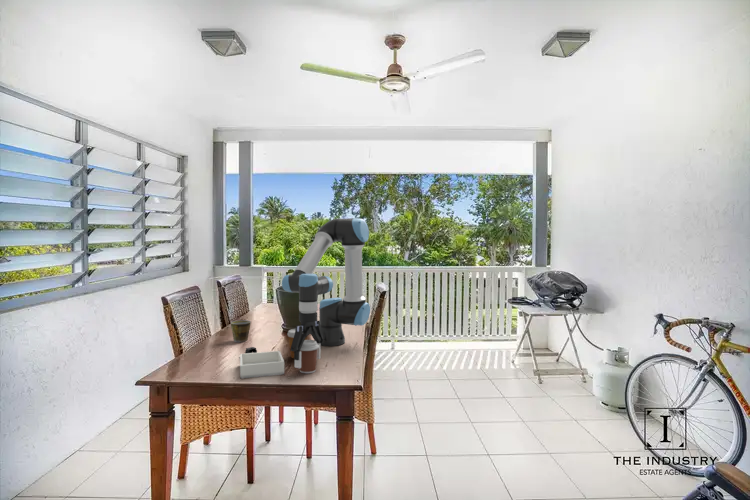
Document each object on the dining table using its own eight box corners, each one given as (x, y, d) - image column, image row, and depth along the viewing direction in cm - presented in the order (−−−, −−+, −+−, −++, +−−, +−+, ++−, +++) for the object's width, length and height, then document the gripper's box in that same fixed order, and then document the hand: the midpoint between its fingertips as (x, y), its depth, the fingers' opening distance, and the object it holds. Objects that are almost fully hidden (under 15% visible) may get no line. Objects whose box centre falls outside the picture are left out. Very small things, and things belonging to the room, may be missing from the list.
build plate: (242, 362, 176) (241, 352, 176) (234, 359, 181) (234, 349, 181) (267, 356, 185) (267, 346, 185) (259, 353, 190) (259, 343, 190)
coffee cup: (320, 373, 161) (320, 343, 161) (297, 375, 159) (297, 345, 158) (317, 366, 170) (317, 338, 170) (295, 368, 168) (295, 339, 167)
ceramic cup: (236, 338, 217) (236, 319, 216) (253, 338, 215) (253, 320, 215) (224, 344, 204) (224, 324, 203) (242, 345, 202) (242, 325, 202)
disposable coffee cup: (283, 358, 181) (283, 332, 181) (294, 352, 190) (294, 327, 190) (301, 360, 178) (301, 333, 177) (312, 355, 187) (312, 329, 186)
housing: (279, 362, 176) (279, 350, 175) (284, 374, 160) (284, 361, 160) (239, 365, 170) (239, 354, 170) (240, 378, 154) (240, 365, 154)
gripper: (317, 306, 177) (317, 353, 177) (281, 315, 154) (281, 370, 155) (332, 307, 173) (331, 356, 174) (297, 317, 151) (296, 373, 151)
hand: (307, 363), depth 164 cm, fingers open, 13 cm apart
